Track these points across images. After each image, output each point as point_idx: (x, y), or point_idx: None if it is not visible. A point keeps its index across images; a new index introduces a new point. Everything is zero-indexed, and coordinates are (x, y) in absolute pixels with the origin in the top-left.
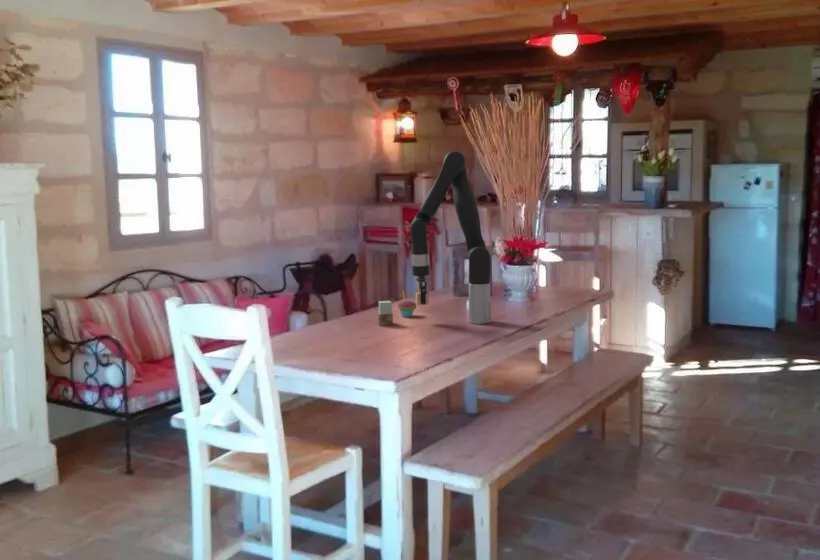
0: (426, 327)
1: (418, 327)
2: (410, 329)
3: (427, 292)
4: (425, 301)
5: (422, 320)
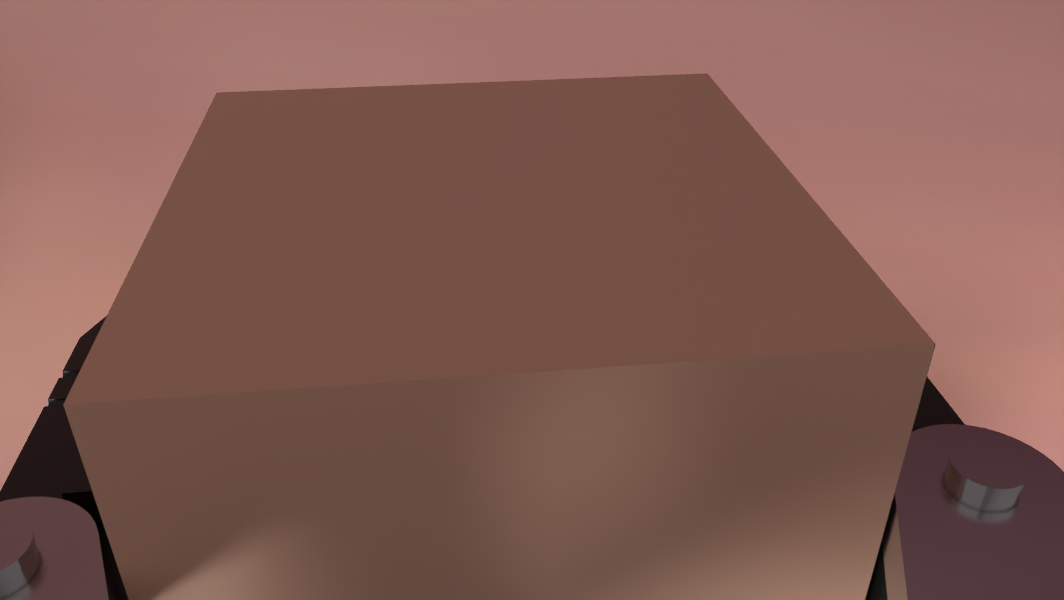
0: (989, 54)
1: (923, 206)
2: (1036, 344)
3: (562, 383)
4: None
5: (138, 57)
